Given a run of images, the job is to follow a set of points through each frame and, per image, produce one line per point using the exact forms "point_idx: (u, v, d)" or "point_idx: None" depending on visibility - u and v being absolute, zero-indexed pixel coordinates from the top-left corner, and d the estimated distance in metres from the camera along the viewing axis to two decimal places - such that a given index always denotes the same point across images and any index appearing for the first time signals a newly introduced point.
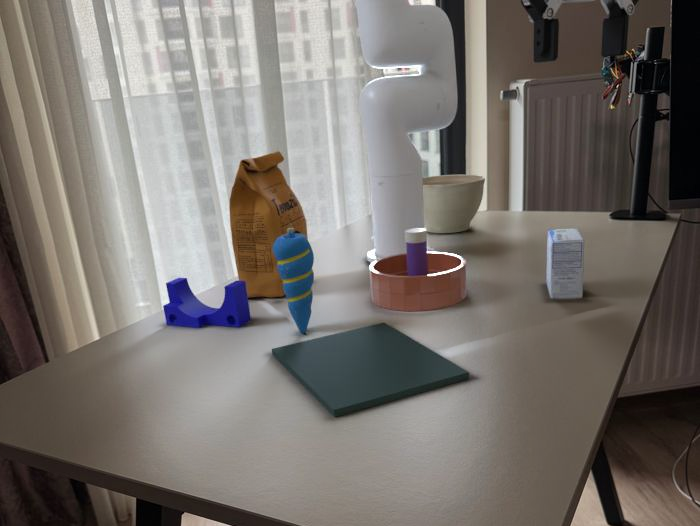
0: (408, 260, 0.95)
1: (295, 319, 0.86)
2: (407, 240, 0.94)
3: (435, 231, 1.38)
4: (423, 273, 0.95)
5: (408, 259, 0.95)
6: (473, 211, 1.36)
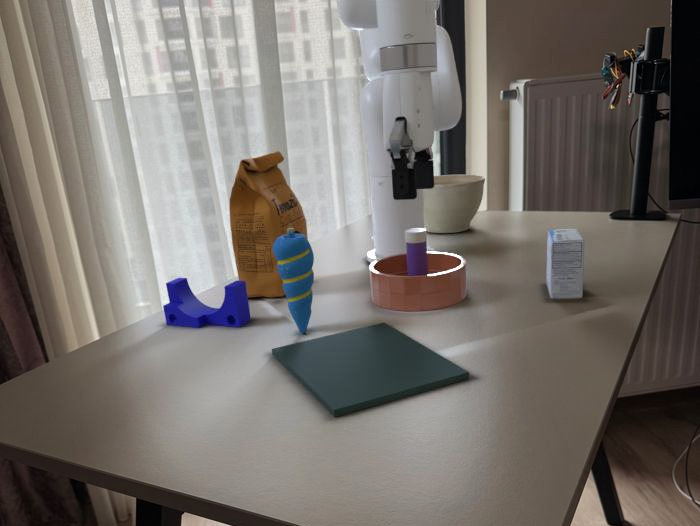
0: (408, 260, 0.95)
1: (295, 319, 0.86)
2: (407, 240, 0.94)
3: (435, 231, 1.38)
4: (423, 273, 0.95)
5: (408, 259, 0.95)
6: (473, 211, 1.36)
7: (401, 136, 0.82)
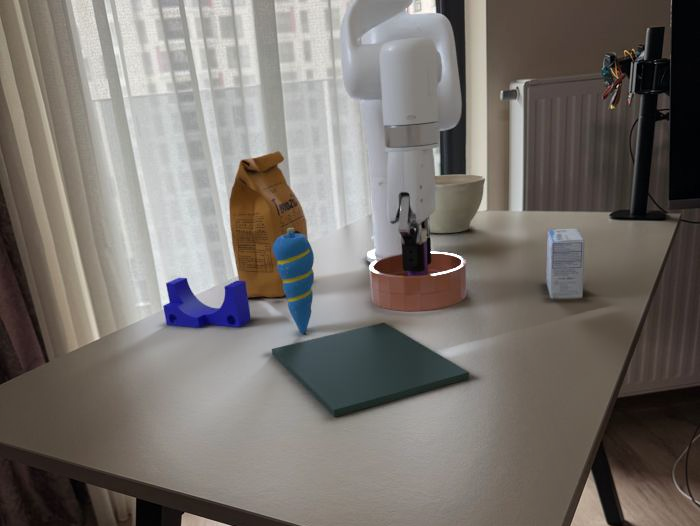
0: None
1: (295, 319, 0.86)
2: None
3: (435, 231, 1.38)
4: (423, 273, 0.95)
5: None
6: (473, 211, 1.36)
7: (409, 222, 0.88)
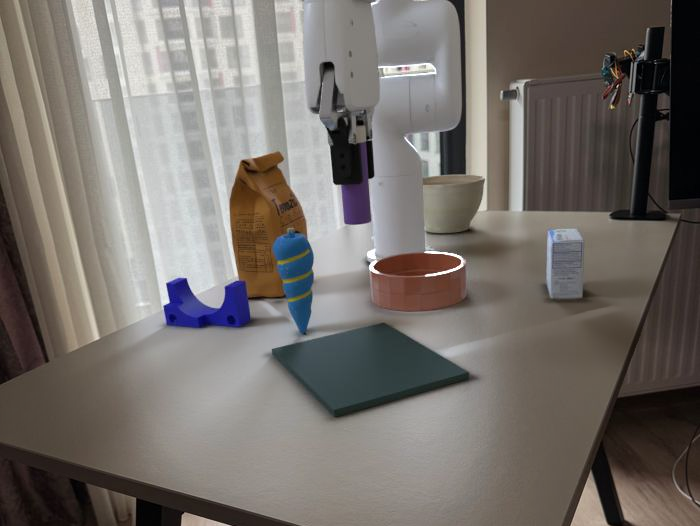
0: None
1: (295, 319, 0.86)
2: None
3: (435, 231, 1.38)
4: (362, 188, 0.69)
5: None
6: (473, 211, 1.36)
7: (334, 106, 0.62)
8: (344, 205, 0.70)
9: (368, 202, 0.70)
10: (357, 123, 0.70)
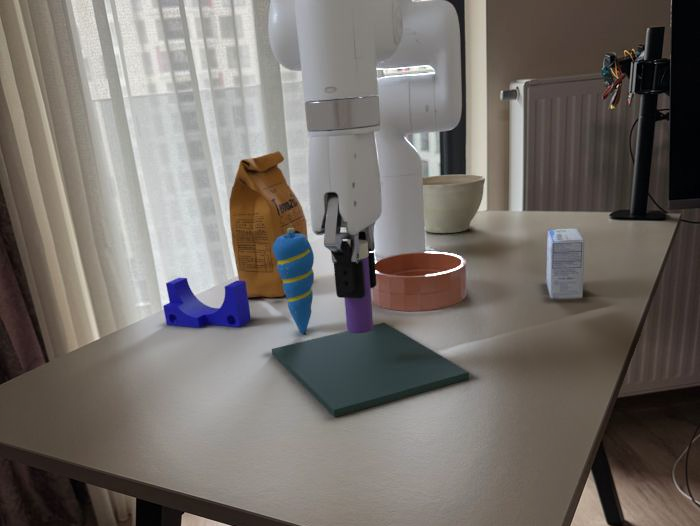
0: None
1: (295, 319, 0.86)
2: None
3: (435, 231, 1.38)
4: (365, 300, 0.72)
5: None
6: (473, 211, 1.36)
7: (338, 232, 0.65)
8: (347, 314, 0.73)
9: (370, 311, 0.73)
10: (360, 235, 0.73)
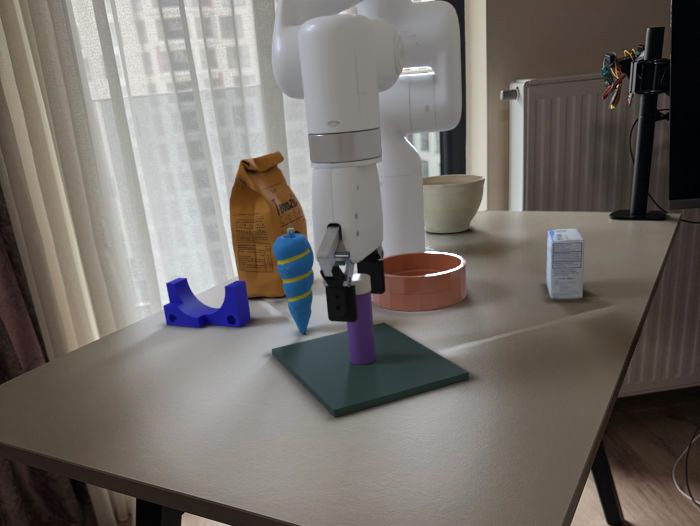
0: None
1: (295, 319, 0.86)
2: None
3: (435, 231, 1.38)
4: (367, 332, 0.73)
5: None
6: (473, 211, 1.36)
7: (333, 250, 0.64)
8: (350, 346, 0.74)
9: (373, 344, 0.74)
10: None
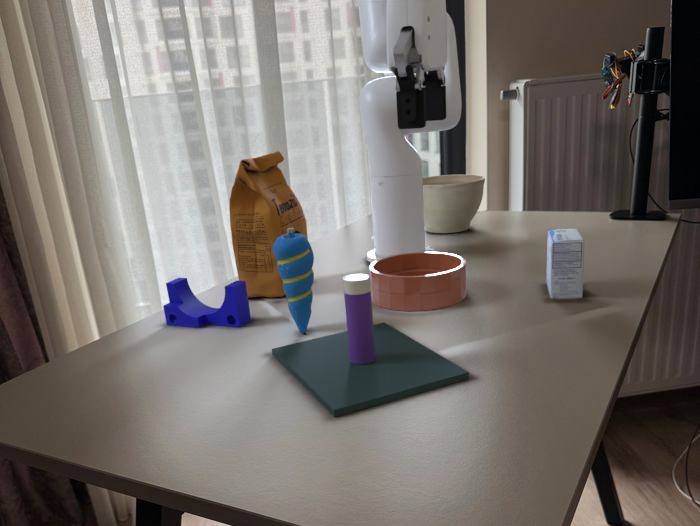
0: (347, 316, 0.73)
1: (295, 319, 0.86)
2: (345, 290, 0.72)
3: (435, 231, 1.38)
4: (367, 332, 0.73)
5: (348, 314, 0.73)
6: (473, 211, 1.36)
7: (408, 49, 0.69)
8: (350, 346, 0.74)
9: (373, 344, 0.74)
10: (432, 71, 0.81)
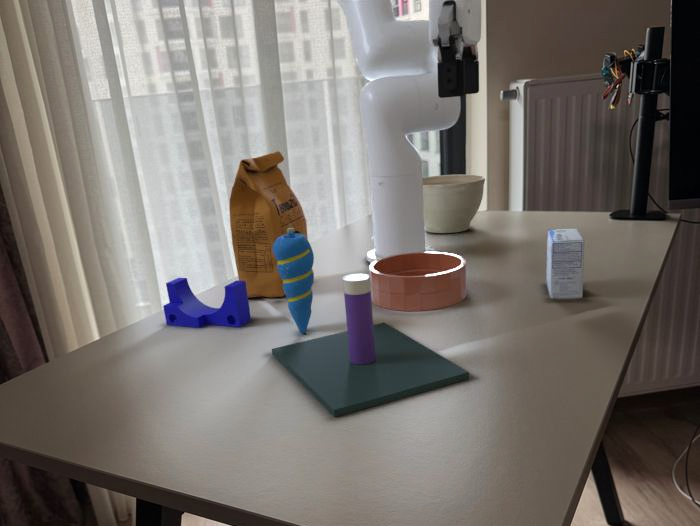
0: (347, 316, 0.73)
1: (295, 319, 0.86)
2: (345, 290, 0.72)
3: (435, 231, 1.38)
4: (367, 332, 0.73)
5: (348, 314, 0.73)
6: (473, 211, 1.36)
7: (450, 20, 0.74)
8: (350, 346, 0.74)
9: (373, 344, 0.74)
10: (466, 47, 0.87)
